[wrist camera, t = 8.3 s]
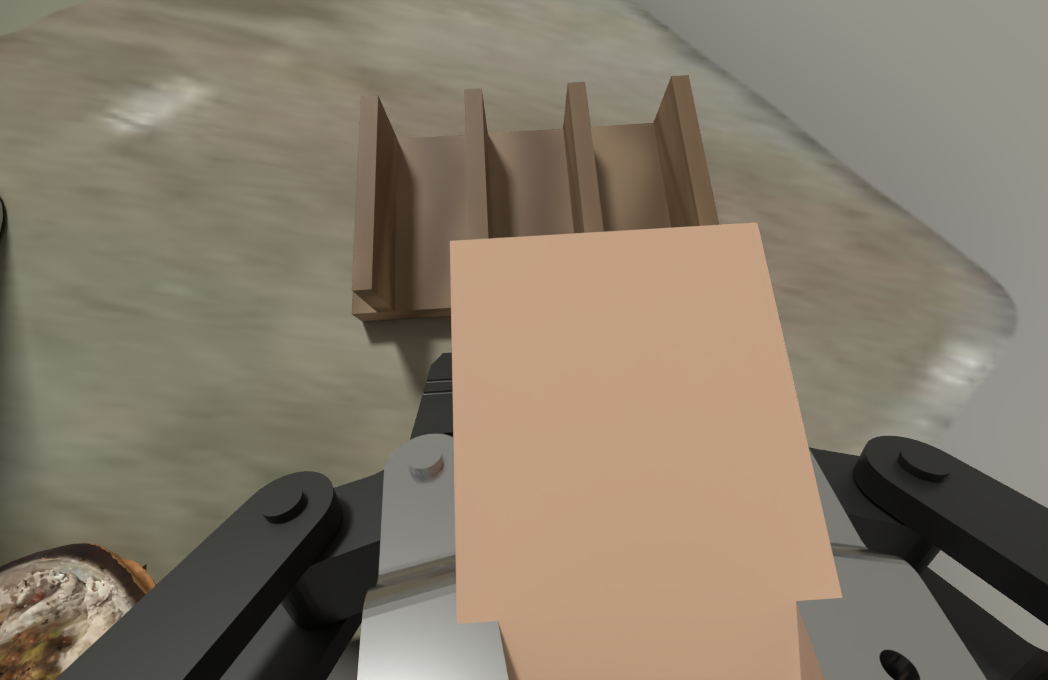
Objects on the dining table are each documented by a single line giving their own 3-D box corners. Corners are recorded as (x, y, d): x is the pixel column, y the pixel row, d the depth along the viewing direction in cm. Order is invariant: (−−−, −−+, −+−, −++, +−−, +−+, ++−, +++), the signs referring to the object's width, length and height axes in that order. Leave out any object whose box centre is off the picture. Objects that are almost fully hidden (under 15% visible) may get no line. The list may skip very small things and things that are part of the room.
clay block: (508, 514, 13) (458, 716, 3) (502, 377, 14) (449, 241, 5) (616, 507, 13) (864, 688, 3) (601, 371, 14) (758, 222, 5)
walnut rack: (362, 321, 25) (322, 292, 20) (368, 157, 28) (334, 97, 23) (713, 298, 25) (757, 264, 20) (682, 137, 28) (714, 73, 23)
